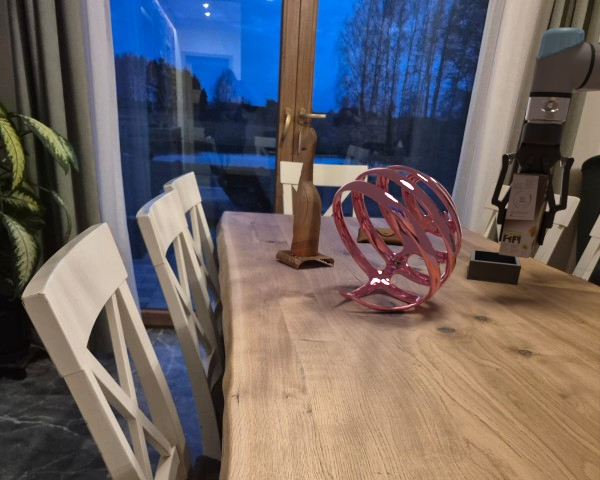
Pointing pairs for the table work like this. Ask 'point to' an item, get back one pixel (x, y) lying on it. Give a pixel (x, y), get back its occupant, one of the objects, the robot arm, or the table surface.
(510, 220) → the coffee box
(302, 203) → the bird sculpture
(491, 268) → the box
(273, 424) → the table surface
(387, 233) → the sunglasses case
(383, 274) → the spiral basket
